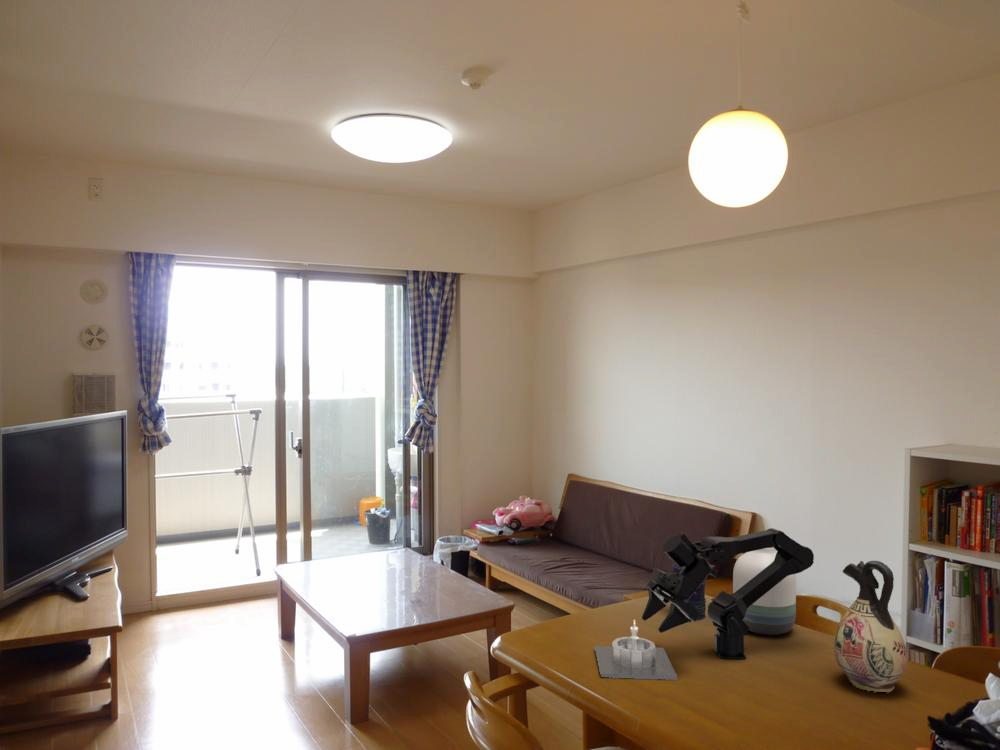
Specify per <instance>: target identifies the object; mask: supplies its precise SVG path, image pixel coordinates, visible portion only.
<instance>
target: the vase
mask: <svg viewBox="0 0 1000 750" xmlns="http://www.w3.org/2000/svg"><path fill="white" fill-rule="evenodd" d="M776 553H777V551H776V550H775V549H774V548H773V547H769V548H764V549H760V550H755V551H750V552H746V553H742V554H741V556H739V558H738V559H736V562H735V564H734V566H733V570H732V571H733V572H732V573H733V574H732V593H735V592H736V591H737V590H738V589H740V588H741V587H742V586H744V585H745V584H746V583H747V582H749V581H750V580H751V579H752V578H754V577H755V576H756V575H757V574H759V573H760V572H761V571H762V570H764V569H765V568H766V567H767V566H769V565H770V564H771V563H772V562H773V561H774V559H775V556H776ZM796 580H797V579H796V574H793V575H789V576H787V577H786V578H784V579H783V580H782V581H781V582H779V583H778V584H777V585H776V586H774V587H773V588H772V589H771V590H769V591H768V592H767V593H766V594H764V595H763V596H762V597H761V598H759V599H758V600H757V601H756V602H755V603H753V604H752V605H751V606H750V607H748V609H747V611H746V614H745V617H744V619H743V620H742V621H743V622H744V623H745V624H746V625H747V626H748V627H749V630H748V632H750V633H755V634H760V635H765V636H778V635H782V634H783V635H784V634H786V633H788V632H790V631H791V630H792V629H793V627H794V625H795V623H796V622H795V621H796V613H797V612H796V611H797V599H796V598H797V592H796V591H797V581H796Z"/></svg>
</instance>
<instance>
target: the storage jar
mask: <svg viewBox="0 0 1000 750" xmlns="http://www.w3.org/2000/svg"><path fill="white" fill-rule="evenodd" d="M684 567H685V566H683V567H679V566H677V564H676V563H675V562H674V563H673V564H672V573H674V572H677V573H680V572H681V570H682V569H683V568H684ZM706 580H707V578H706V579H705V580H704V581H703V582H702V583H701V585H700V586H699V587H698V588H697V589H698V590H699V593H698V594H696V593H693V594H692V596H691V597H690V598H689V599H688V600H689V601H690V602H691V603H692V604H693V605H694V606H695V607H696V608H697V609H698V610H699V611H700V617H699V618H698V619H697V620H696V621H695V622H698V621H703V620H704V618H705V619H706V609H707V604H706V603H707V601H706V596H705V595H706V593H705V591H706V590H705V589H706V588H705V587H706V586H707V582H706ZM672 604H673V603H672ZM673 605H675V604H673ZM675 606H676V605H675ZM702 619H703V620H702ZM689 620H690V621H691V622H693V621H692V620H691V619H689Z"/></svg>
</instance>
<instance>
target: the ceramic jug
mask: <svg viewBox="0 0 1000 750" xmlns="http://www.w3.org/2000/svg"><path fill="white" fill-rule="evenodd" d="M873 570H875V571H878V572H879V573H880V574H881V575H882V579H883V580H882V581H883V585H882V588H881V592H880V593H881V594H880V597H879V598H878V596H877V595H878V594H877V591H876V590H878V589H879V588H880V584H879V582H878V580H877V578H876V576H875V575H874V571H873ZM842 573H843V575H846V576H847V577H849V578H851V579H852V580H854V581H855V582H856V583H857V584H858V585H859V592H858V596H857V597H856V599H855V601H854V602H853V603H852V604H851V605H850V606H849V608H848V609H847V611H845V614H844V615H843V617H842V618H841V620H840V622H839V623H838V625H837V628H836V633H835V636H834V642H833V653H834V654H833V655H834V656H835V657H834V658H835V661H836V663H837V664H838V666H839V668H840V669H841V670H842V671H843V673H844V674H845V675H846V677H847V678H848V681H849V680H850V681H849V683H850V682H851V683H852V684H853V685H854V686H853V685H852V686H853V687H855V686H857V687H858V688H861V689H864V690H867V691H866V692H870V691H874V692H873V693H876V692H890V693H892V692H893V691H894V690H895V684H896V683H897V682H898V681H900V680H901V678H903V676H904V674H905V673H906V671H907V669H908V668H907V666H908V650H907V647H906V643H905V640H904V637H903V635H902V633H901V631H900V629H899V627H898V626H897V624H896V622H895V620H894V619H893V618H892V616H891V614H890V611H889V602H890V600H891V597H892V594H893V590H894V581H895V579H894V573H893V571H892V570H891V568H890V567H889V566H888V565H887V564H885V563H884V562H882V561H880V560H869V561H867V562H866V563H864V561H862V560H860V562H859V563H857V565H856V564H854V563H851V562H850V563H848V565H846V566H845V567H844V569H843V570H842ZM858 688H857V689H858ZM861 689H860V690H861ZM893 689H894V690H893ZM864 690H863V691H864ZM891 691H892V692H891Z"/></svg>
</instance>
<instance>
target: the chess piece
mask: <svg viewBox="0 0 1000 750" xmlns="http://www.w3.org/2000/svg"><path fill="white" fill-rule="evenodd" d="M632 625H633V626H630V633H631V635H630V636H629V637H630V638H631V639H632V648H631V650H637V643H636V639H639V638H640V637H639V636H638V632H639V627H638V626H636V619H633V624H632ZM638 637H639V638H638Z"/></svg>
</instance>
